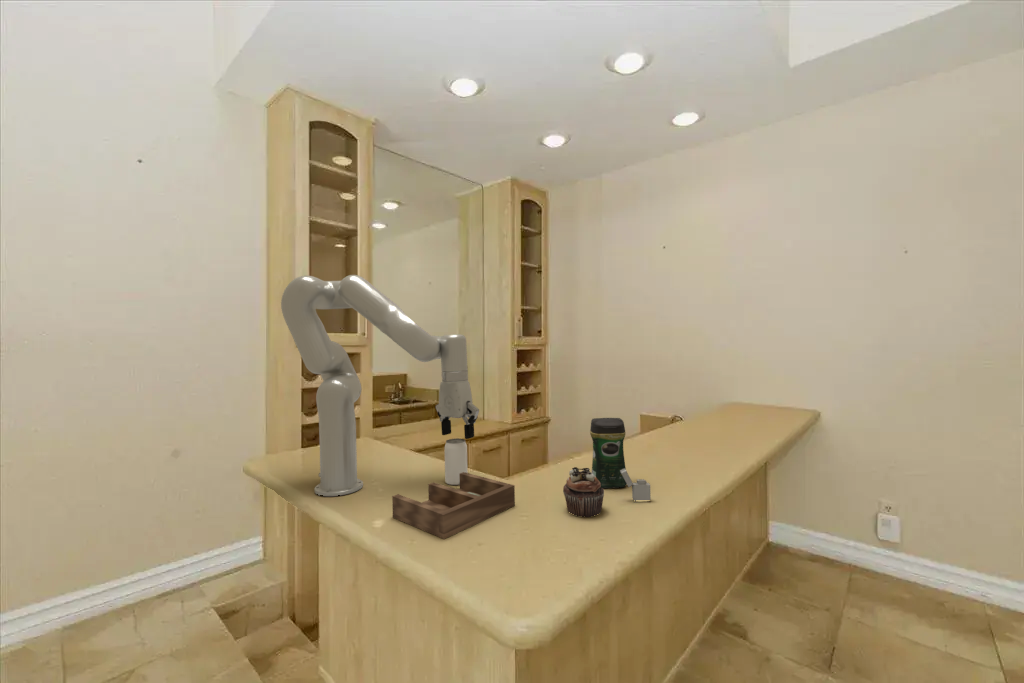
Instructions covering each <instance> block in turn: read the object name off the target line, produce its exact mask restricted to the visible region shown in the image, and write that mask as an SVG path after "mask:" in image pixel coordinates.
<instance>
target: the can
mask: <svg viewBox="0 0 1024 683" xmlns="http://www.w3.org/2000/svg"><path fill="white" fill-rule="evenodd" d="M463 472H465V473H468V445H467V443H466V439H465V438H458V437H457V438H449V439H446V441H445V445H444V481H445V482H444V483H446V484H447V485H448V486H460V473H463Z"/></svg>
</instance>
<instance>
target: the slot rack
mask: <svg viewBox="0 0 1024 683" xmlns="http://www.w3.org/2000/svg"><path fill="white" fill-rule="evenodd" d="M427 485H428V499H427V500H425V501H422V502H421V501H418V500H416V499H413V498H411V497H407V496H405V495H402V494H399V493H398V494H395V495H392V496H391V498H392V505H391V506H392V518H393V517H394V518H393V519H395V518H396V519H395V520H397V519H398V520H397V521H400V522H402V521H403V523H404V522H405V524H407V525H410V526H412V527H414V528H417V529H419V530H422V531H423V532H425V533H428V534H430V535H433V536H436V537H438V538H440V539H442V540H445V539H448V538H450V537H451V536H453V535H456V534H458V533H460V532H462V531H465V530H467V529H469V528H471V527H473V526H475V525H477V524H479V523H481V522H484V521H485V520H488V519H490V518H492V517H494V516H496V515H498V514H500V513H502V512H504V511H506V510H509V509H512V508H514V507H515V506H516V502H515V501H516V497H515V496H516V495H515V494H516V493H515V489H516V488H515V486H516V485H514V484H512V483H507V482H503V481H500V480H499V481H498V480H495V479H492V478H488V477H484V476H482V475H481V476H480V475H476V474H474V473H473V474H472V473H465V472H463V473H460V485H459V488H457V489H456V488H454V487H450V486H447V485H443V484H440V483H437V482H434V481H433V482H430V483H428V484H427Z"/></svg>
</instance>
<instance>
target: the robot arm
mask: <svg viewBox="0 0 1024 683" xmlns="http://www.w3.org/2000/svg"><path fill="white" fill-rule="evenodd" d="M280 303H281V304H280V306H281V307H280V308H281V314H282V316H283V319H284V322H285V324H286V326H287V328H288V330H289V332H290V334H291V336H292V339H293V342H294V343H295V346H296V348H297V351H298V352H299V355H300V357H301V359H302V362H303V364H304V366H305V368H306V369H307V370H308V371H309V372H311V374H314V375H320V376H321V379H322V380H323V381H322V382H321V383H320V384H319V386H318V387H317V390H316V394H315V395H316V397H315V400H316V408H317V415H318V431H319V432H318V435H319V466H320V467H319V470H320V472H319V473H318V477H319V478H320V479H319V481H320V483H318V484H317V485H316V486H315V487H314V494H315V495H317V494H318V495H317V496H320V495H323V496H322V497H337V496H338V495H340V496H344V495H349V494H352V493H355V492H357V491H360V490H361V489H362V488H363V486H364V481H363V480H362V479H360V478H358V467H357V466H358V460H357V458H358V457H357V422H356V412H355V411H356V410H355V403H356V402H357V401H358V400H359V398H360V396H361V394H362V389H363V388H362V383H361V381H360V379H359V376H358V374H357V372H356V370H355V367H354V364H353V363H352V360H351V358H350V357H349V354H348V352H347V351H346V349H345V348H344V347H343V346H342V344H340V343H339V342H336V341H333V340H331V339H330V336H329V335H328V332H327V331H326V328H325V325H324V324H323V322H322V319H320V318H321V317H319V315H318V312H317V310H340V309H353V310H354V311H355V312H357V313H358V314H359V315H360V316H362V317H363V318H365V320H367V321H368V322H369V323H370V324H372V325H373V326H375V328H376V329H378V330H379V331H380V332H381V333H382V334H384V335H386V336H387V337H388V338H390V339H391V340H392V341H393V342H394V343H395V344H396V345H397V346H399V347H400V348H402V349H403V350H404V351H405V352H406V353H408V354H409V355H411V356H412V357H413V358H414V359H416V360H417V361H418V362H423V363H428V362H432V361H434V360H439V359H440V364H441V365H440V367H441V381H440V384H439V391H438V403H437V404H436V405H435V409H436V410H435V411H436V412H437V414H436V415H437V416H438V417H439V422H441V423H440V424H441V426H440V427H441V435H442V436H447V435H451V434H452V421H451V419H450V418H454V419H462V420H463V421H464V423H465V424H463V426H464V427H463V430H464V439H465V440H469V439H472V438H474V437H475V425H474V424H476V421H477V419H478V416H479V413H480V409H479V408H478V407H477V406H476V405H475V404H474V403H473V395H472V390H471V385H470V381H469V369H468V348H467V337H466V336H465V335H464V334H459V333H458V334H454V333H453V334H444V335H441V336H440V335H431V334H429V333H428V332H427V331H426V330H425V329H423V328H422V327H421V326H419V325H418V324H417V323H416V322H414V320H412V319H411V317H409V316H408V315H407V314H406V313H405V312H404V311H403V310H402V308H401V307H400V306H399V305H398V304H397V303H395V302H394V301H393V300H391V299H390V298H389V297H387V295H386V294H384V293H383V292H381V291H380V290H379V289H378V288H376V287H375V286H374V285H373V284H372V283H371V282H370V281H368V280H367V279H365V278H364V277H363V276H361V275H357V274H349V275H347V276H345V277H344V278H342V279H341V280H323V279H320V278H319V277H316V276H313V275H300V276H298V277H295V278H294V279H292V280H291V281H290V282H289V283H288V284H287V285H286V287H285V289H284V291H283V293H282V295H281V302H280ZM338 497H339V496H338Z"/></svg>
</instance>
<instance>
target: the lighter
mask: <svg viewBox="0 0 1024 683" xmlns="http://www.w3.org/2000/svg"><path fill="white" fill-rule="evenodd" d="M620 472H621V474H622V476H623V478H624V480H625V482H626V483H627V485H626V486H627V487H628V488H630V487H631V488H632V489H631V490H632V491H631V494H632V495H631V496H632V497H631V498H633V500H635V501H636V500H651V499H652V497H651V484H650V483H649V482H648V481H647V480H646V479H644V478H643V479H642V478H641V479H640V478H639V479H638V478H637V479H636V482H633V481H632V479H631V477H630V475H629V473H628V471H627V468H626V469H625V468H624V469H622V470H620ZM633 500H632V501H633Z"/></svg>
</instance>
